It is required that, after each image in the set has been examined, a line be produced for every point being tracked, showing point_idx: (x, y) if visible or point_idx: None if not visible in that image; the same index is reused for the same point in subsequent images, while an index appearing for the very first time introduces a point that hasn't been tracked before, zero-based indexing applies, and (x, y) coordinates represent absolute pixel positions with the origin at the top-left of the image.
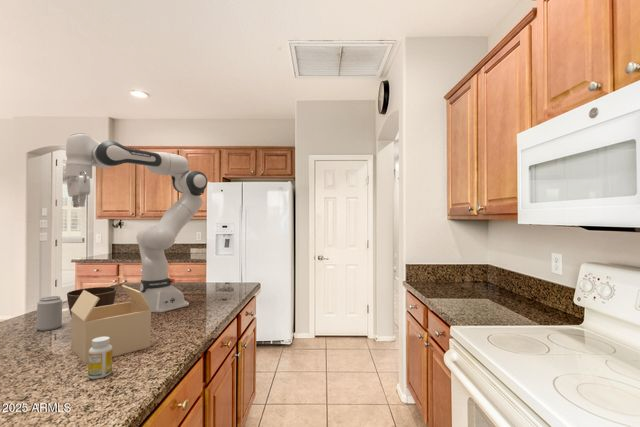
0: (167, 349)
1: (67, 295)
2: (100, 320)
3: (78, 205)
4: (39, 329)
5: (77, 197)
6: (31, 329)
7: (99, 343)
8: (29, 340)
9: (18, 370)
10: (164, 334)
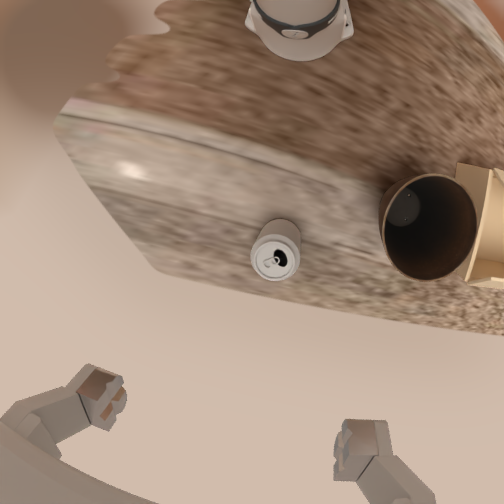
0: None
1: (421, 280)
2: None
3: (337, 452)
4: (285, 256)
5: (37, 442)
6: None
7: None
8: (337, 282)
9: (455, 319)
10: (497, 132)
